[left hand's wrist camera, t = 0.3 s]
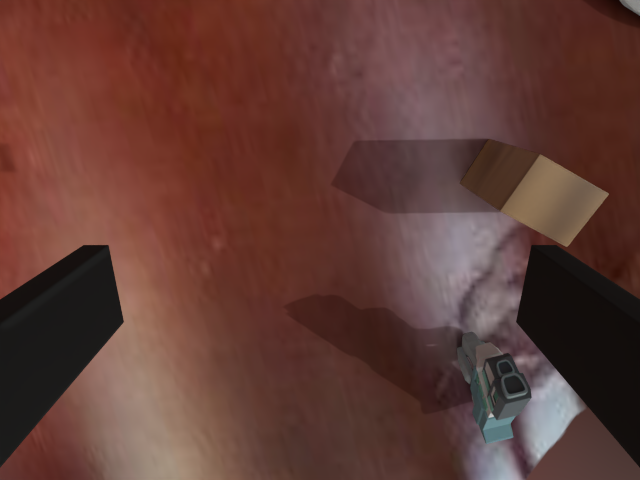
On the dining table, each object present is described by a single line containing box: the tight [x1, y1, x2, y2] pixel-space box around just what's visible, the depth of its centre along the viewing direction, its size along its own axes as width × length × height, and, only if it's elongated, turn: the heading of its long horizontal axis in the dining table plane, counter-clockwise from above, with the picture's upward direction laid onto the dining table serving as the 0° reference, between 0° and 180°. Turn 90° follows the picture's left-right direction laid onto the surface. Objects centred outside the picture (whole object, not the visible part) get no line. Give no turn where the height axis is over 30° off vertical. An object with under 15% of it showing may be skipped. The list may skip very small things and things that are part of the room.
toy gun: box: [457, 332, 532, 444], centre depth 41 cm, size 4×19×10 cm
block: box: [460, 139, 609, 247], centre depth 35 cm, size 6×5×10 cm
